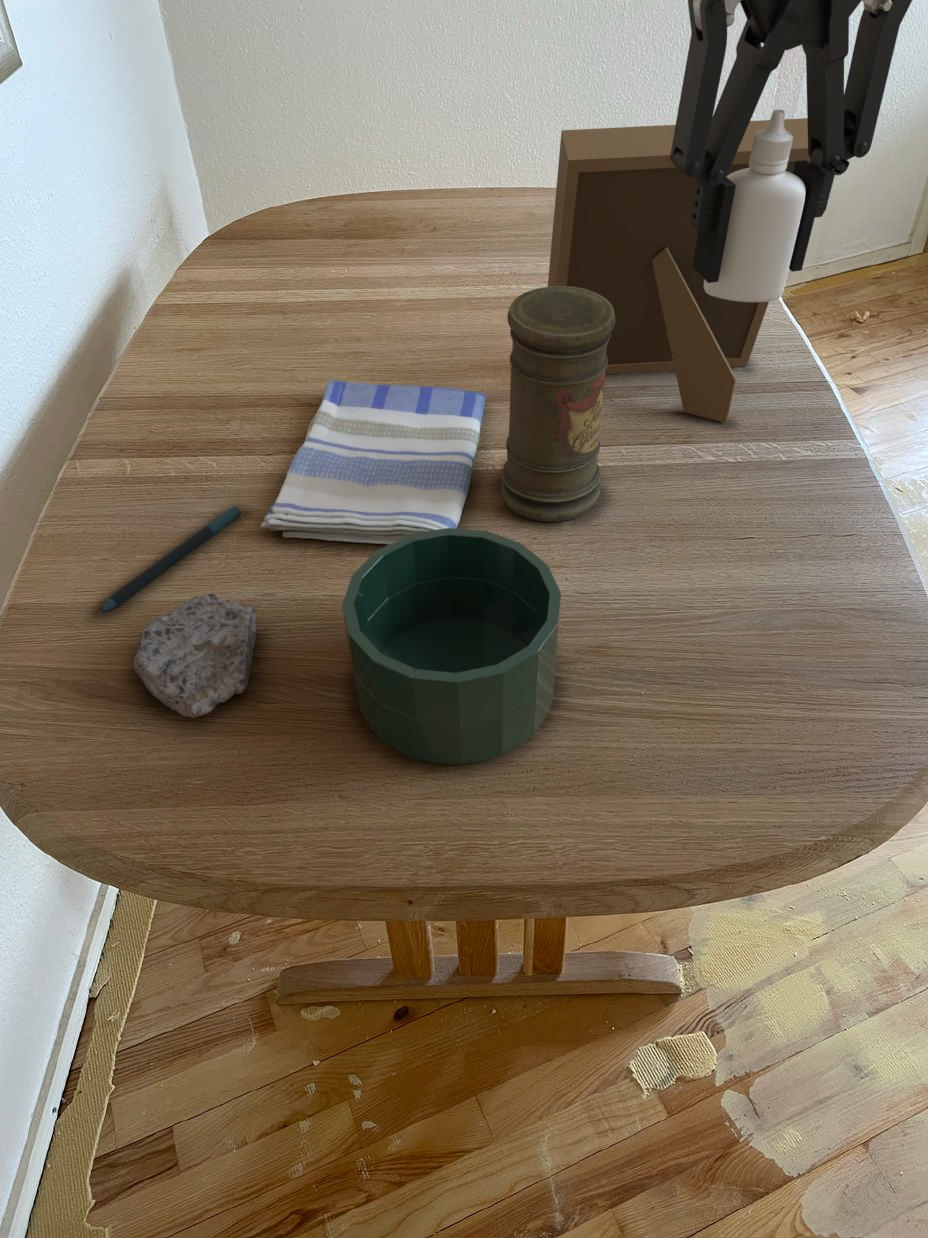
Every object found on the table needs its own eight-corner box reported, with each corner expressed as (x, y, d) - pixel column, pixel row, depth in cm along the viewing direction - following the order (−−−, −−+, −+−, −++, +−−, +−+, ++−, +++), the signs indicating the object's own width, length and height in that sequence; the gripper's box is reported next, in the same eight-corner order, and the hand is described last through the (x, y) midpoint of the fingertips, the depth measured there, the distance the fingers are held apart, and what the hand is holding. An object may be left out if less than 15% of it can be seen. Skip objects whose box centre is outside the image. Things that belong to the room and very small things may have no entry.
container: (490, 514, 82) (490, 328, 69) (515, 457, 88) (520, 276, 75) (588, 531, 80) (607, 344, 67) (607, 472, 86) (629, 289, 73)
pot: (580, 739, 64) (591, 654, 58) (377, 785, 62) (364, 701, 56) (520, 599, 74) (523, 513, 68) (343, 634, 72) (329, 548, 65)
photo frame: (541, 357, 101) (552, 108, 83) (735, 346, 101) (788, 97, 84) (561, 434, 90) (578, 169, 72) (777, 420, 91) (847, 155, 73)
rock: (263, 615, 73) (253, 579, 71) (248, 722, 66) (236, 686, 63) (152, 622, 73) (138, 585, 70) (125, 729, 66) (108, 693, 63)
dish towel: (260, 540, 80) (254, 515, 78) (328, 394, 96) (324, 371, 94) (454, 557, 78) (453, 532, 76) (490, 405, 94) (490, 381, 92)
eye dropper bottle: (724, 270, 69) (757, 94, 60) (791, 292, 66) (836, 111, 57) (692, 291, 67) (721, 110, 58) (760, 315, 64) (802, 129, 55)
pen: (97, 614, 74) (93, 604, 74) (234, 512, 83) (232, 502, 82) (106, 620, 74) (102, 610, 73) (243, 516, 83) (240, 506, 82)
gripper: (948, -173, 52) (838, 231, 69) (642, -155, 50) (604, 262, 66) (1034, -159, 47) (893, 274, 64) (698, -138, 44) (642, 309, 61)
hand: (746, 267), depth 65 cm, fingers closed on eye dropper bottle, 6 cm apart
